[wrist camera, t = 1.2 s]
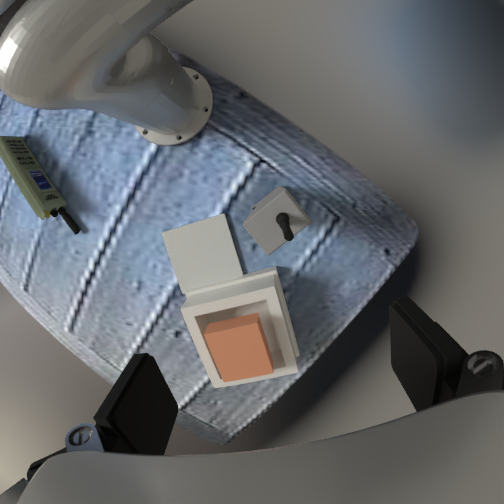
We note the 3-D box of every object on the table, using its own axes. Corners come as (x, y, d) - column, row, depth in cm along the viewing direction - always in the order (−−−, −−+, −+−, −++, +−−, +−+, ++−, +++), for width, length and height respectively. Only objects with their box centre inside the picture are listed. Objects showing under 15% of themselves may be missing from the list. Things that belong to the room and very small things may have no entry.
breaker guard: (188, 288, 46) (175, 306, 39) (276, 265, 44) (277, 281, 38) (218, 366, 49) (212, 390, 42) (298, 349, 48) (302, 373, 41)
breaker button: (208, 323, 40) (203, 334, 37) (258, 312, 39) (257, 322, 36) (226, 370, 41) (223, 382, 38) (273, 360, 41) (273, 373, 38)
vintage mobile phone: (251, 207, 43) (230, 244, 18) (279, 185, 42) (295, 192, 17) (268, 227, 43) (268, 289, 19) (295, 205, 42) (332, 241, 18)
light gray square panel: (162, 232, 44) (161, 233, 44) (224, 213, 43) (224, 213, 42) (183, 292, 46) (182, 294, 46) (244, 277, 45) (244, 278, 45)
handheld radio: (23, 133, 41) (87, 223, 45) (15, 146, 42) (78, 236, 46) (-1, 132, 35) (63, 232, 38) (-8, 147, 36) (54, 246, 39)
